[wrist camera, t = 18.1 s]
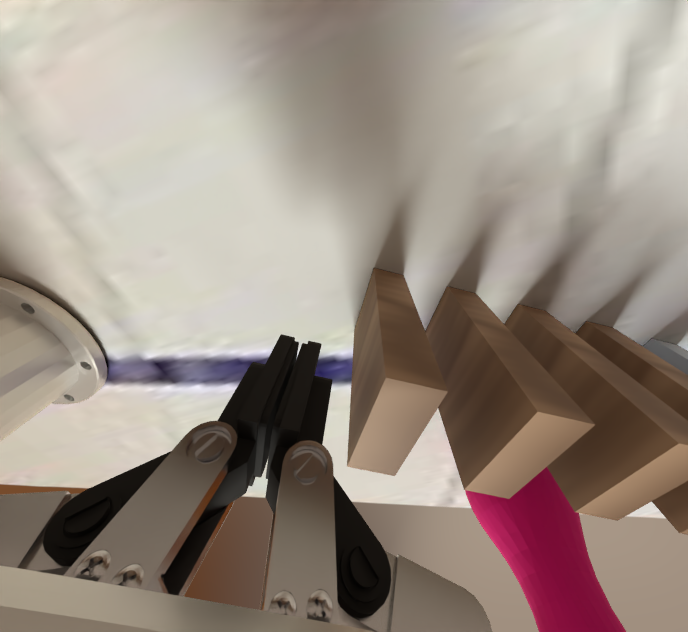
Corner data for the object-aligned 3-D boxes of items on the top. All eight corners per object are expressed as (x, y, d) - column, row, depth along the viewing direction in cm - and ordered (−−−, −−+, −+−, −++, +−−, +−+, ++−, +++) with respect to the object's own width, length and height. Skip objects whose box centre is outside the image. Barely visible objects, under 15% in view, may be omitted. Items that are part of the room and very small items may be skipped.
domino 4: (541, 374, 20) (679, 533, 11) (586, 321, 17) (809, 472, 9) (564, 379, 20) (719, 541, 11) (612, 327, 17) (860, 484, 9)
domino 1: (354, 330, 19) (347, 466, 10) (373, 267, 16) (385, 377, 8) (380, 336, 19) (394, 476, 10) (403, 275, 16) (447, 391, 8)
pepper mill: (440, 456, 26) (597, 1040, 8) (467, 409, 22) (837, 1257, 5) (509, 466, 26) (805, 1063, 9) (548, 421, 22) (1193, 1295, 5)
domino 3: (480, 360, 19) (575, 512, 11) (517, 303, 17) (678, 443, 8) (505, 365, 20) (617, 520, 11) (545, 310, 17) (732, 455, 8)
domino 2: (418, 345, 19) (464, 489, 11) (447, 286, 17) (537, 411, 8) (443, 351, 19) (509, 498, 11) (475, 293, 17) (595, 424, 8)
